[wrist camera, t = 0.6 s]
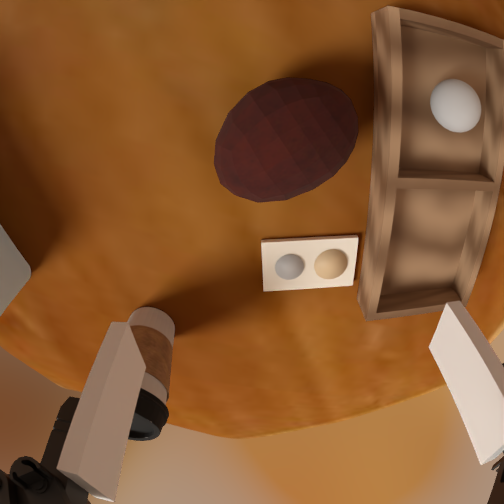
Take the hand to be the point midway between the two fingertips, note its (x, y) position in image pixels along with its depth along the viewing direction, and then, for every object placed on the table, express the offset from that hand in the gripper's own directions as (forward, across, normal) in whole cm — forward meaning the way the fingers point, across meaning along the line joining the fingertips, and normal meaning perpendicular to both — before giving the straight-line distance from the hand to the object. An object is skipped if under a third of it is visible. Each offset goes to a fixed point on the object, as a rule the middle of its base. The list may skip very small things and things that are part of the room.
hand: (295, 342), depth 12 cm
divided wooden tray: (+20, +17, +1) cm, 26 cm away
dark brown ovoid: (+20, +1, +5) cm, 21 cm away
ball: (+19, +17, +8) cm, 27 cm away
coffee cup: (+20, -15, -17) cm, 30 cm away
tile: (+20, +4, -9) cm, 22 cm away
